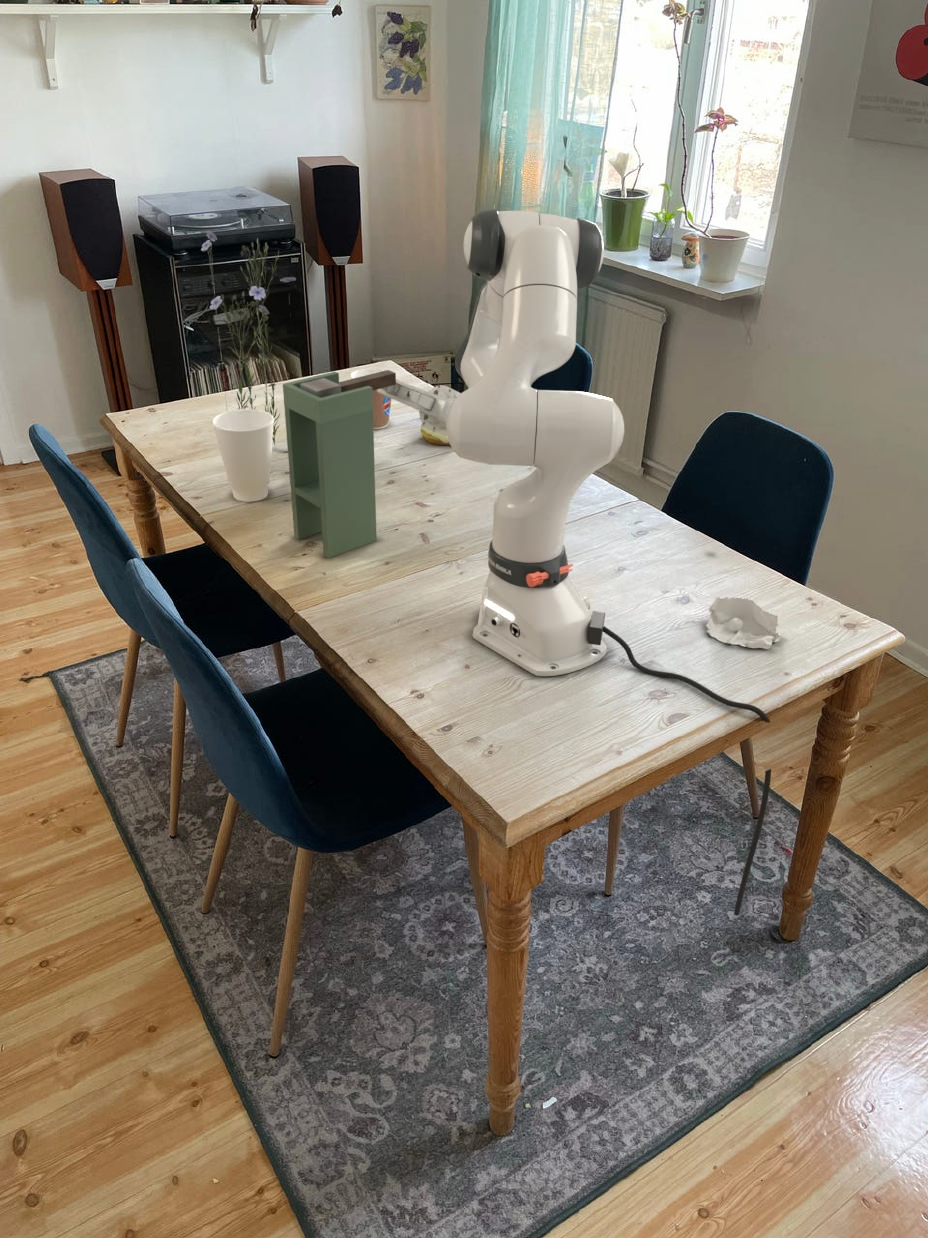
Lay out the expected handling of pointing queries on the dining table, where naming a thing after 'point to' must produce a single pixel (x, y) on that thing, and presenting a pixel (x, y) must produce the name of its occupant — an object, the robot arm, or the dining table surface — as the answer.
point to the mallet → (349, 384)
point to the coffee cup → (376, 400)
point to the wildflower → (258, 294)
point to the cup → (246, 451)
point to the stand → (331, 465)
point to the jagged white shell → (742, 623)
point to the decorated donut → (434, 436)
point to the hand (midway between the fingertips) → (392, 387)
